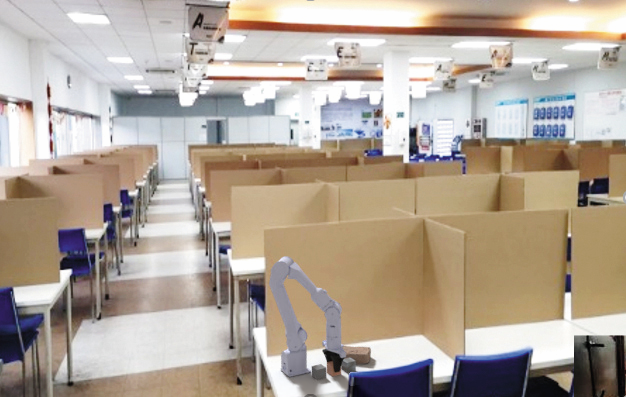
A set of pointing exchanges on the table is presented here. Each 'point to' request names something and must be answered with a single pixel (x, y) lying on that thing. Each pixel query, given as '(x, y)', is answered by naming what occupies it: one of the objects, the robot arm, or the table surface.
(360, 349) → the brick
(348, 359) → the slate block
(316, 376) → the gray block
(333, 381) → the table surface
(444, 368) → the table surface
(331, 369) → the terracotta block
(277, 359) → the table surface
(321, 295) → the robot arm
